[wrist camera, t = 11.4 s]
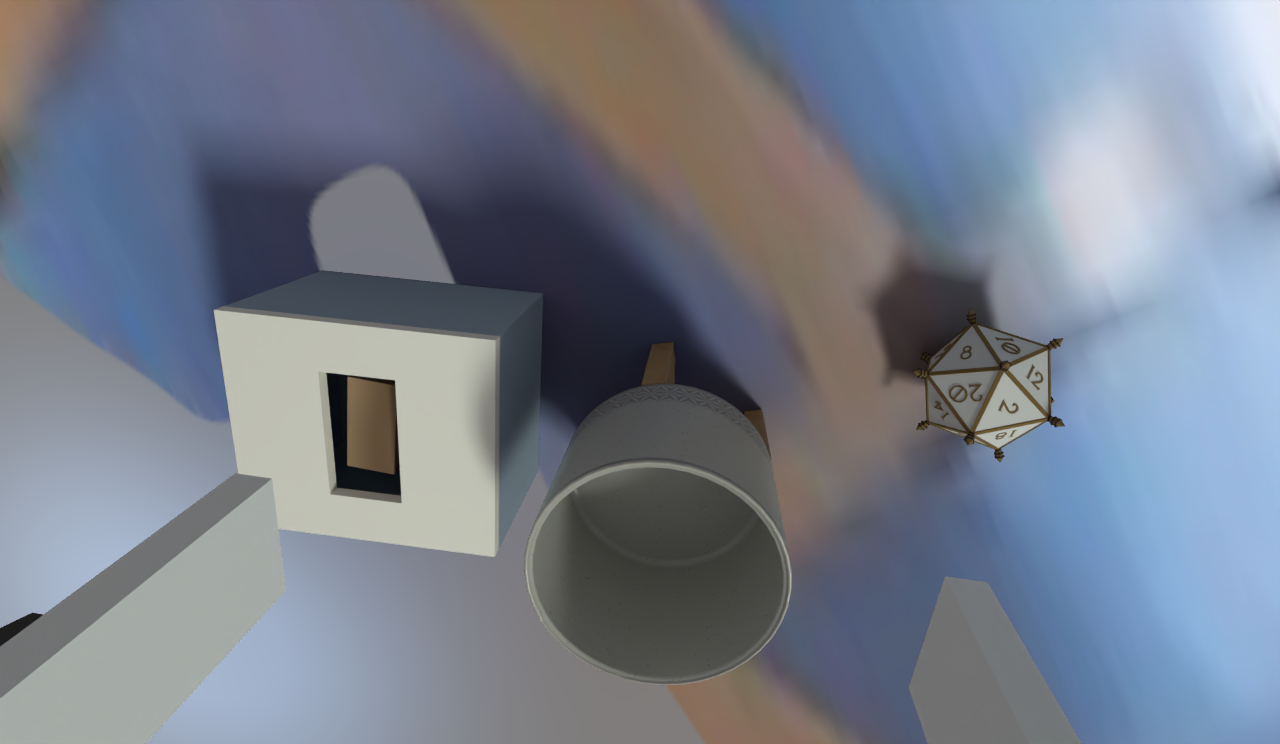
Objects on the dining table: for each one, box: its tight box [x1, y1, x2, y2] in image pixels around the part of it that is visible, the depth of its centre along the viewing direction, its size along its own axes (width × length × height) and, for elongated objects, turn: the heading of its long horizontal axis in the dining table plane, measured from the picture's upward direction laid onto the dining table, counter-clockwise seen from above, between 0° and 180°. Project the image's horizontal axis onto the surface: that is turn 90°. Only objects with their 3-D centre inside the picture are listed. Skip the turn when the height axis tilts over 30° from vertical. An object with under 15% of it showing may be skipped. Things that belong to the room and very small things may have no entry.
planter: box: [524, 342, 792, 685], centre depth 40 cm, size 13×13×18 cm
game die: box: [913, 309, 1065, 462], centre depth 41 cm, size 9×8×10 cm
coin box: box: [214, 270, 543, 557], centre depth 44 cm, size 14×16×11 cm
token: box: [347, 375, 400, 475], centre depth 44 cm, size 3×6×9 cm, turn 170°
